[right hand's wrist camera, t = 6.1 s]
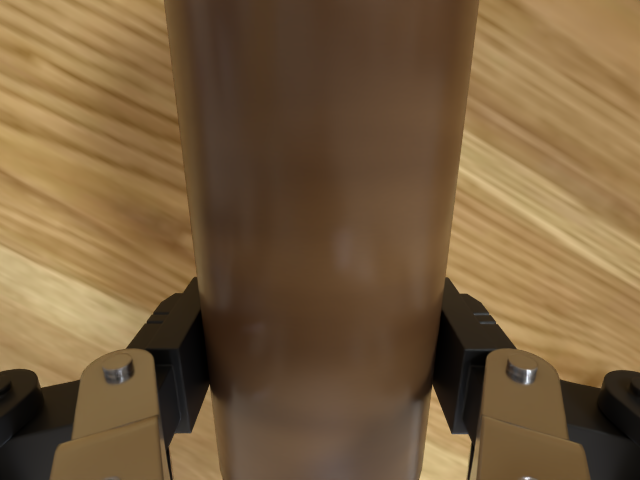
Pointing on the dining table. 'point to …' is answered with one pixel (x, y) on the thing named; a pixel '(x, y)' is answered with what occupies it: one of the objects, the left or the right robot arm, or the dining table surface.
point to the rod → (321, 221)
